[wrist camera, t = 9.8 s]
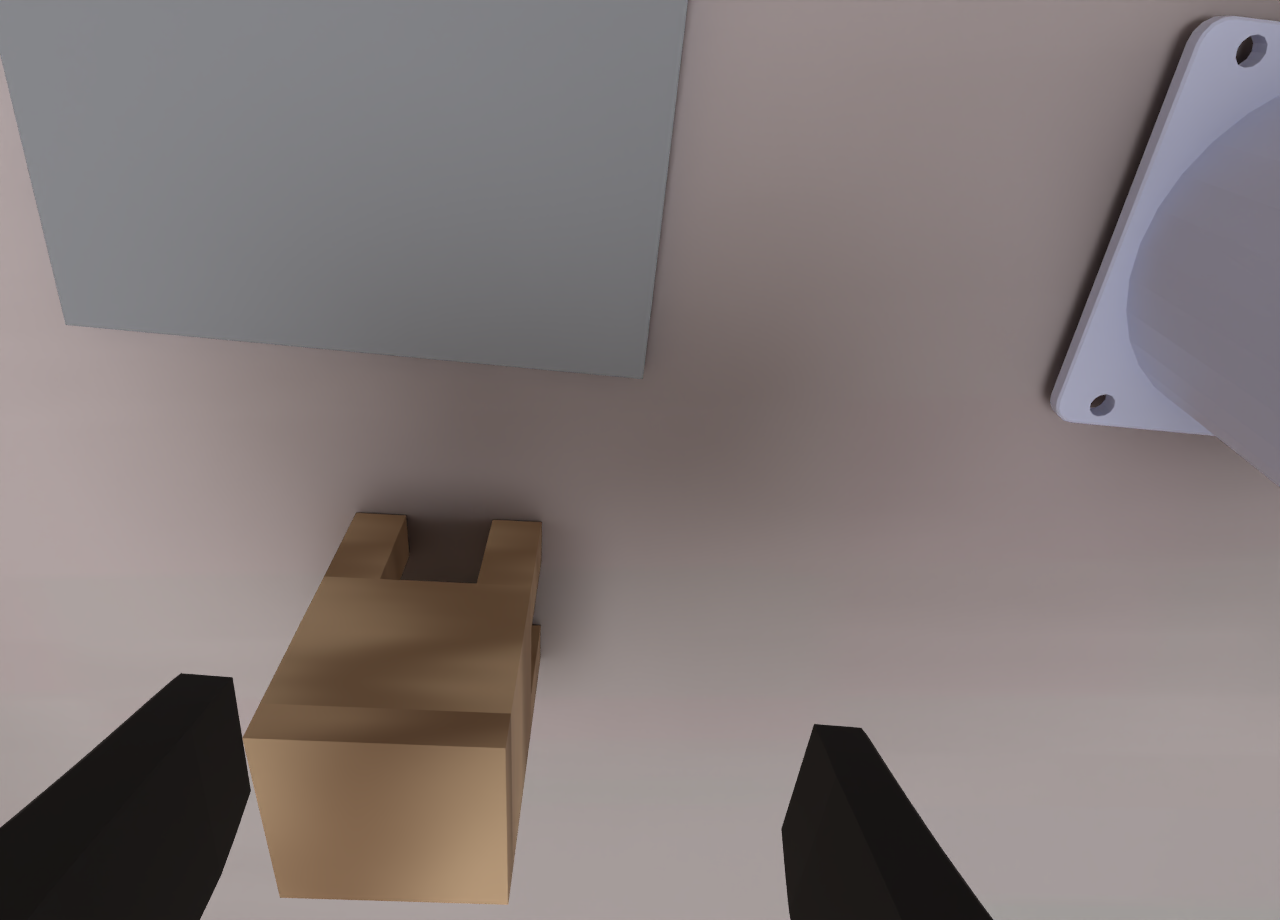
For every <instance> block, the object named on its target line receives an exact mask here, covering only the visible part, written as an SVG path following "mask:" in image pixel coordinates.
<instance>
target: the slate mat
mask: <svg viewBox="0 0 1280 920" xmlns="http://www.w3.org/2000/svg"><path fill="white" fill-rule="evenodd" d="M687 4H688V0H0V55H1V59H2V64H3V68H4V72H5V76H6V80H7V84H8V88H9V92H10V97H11V101H12V105H13V109H14V113H15V117H16V121H17V125H18V130H19V134H20V138H21V142H22V146H23V150H24V154H25V159H26V163H27V167H28V171H29V175H30V179H31V183H32V187H33V192H34V196H35V200H36V204H37V208H38V212H39V216H40V220H41V225H42V229H43V233H44V237H45V241H46V245H47V249H48V253H49V258H50V262H51V266H52V270H53V274H54V278H55V282H56V286H57V291H58V295H59V299H60V303H61V307H62V311H63V315H64V320H65V324H66V325H73V326H83V327H94V328H105V329H115V330H126V331H137V332H147V333H158V334H168V335H179V336H190V337H200V338H211V339H222V340H232V341H243V342H254V343H264V344H275V345H285V346H296V347H307V348H317V349H328V350H339V351H349V352H360V353H371V354H381V355H392V356H402V357H413V358H424V359H434V360H445V361H456V362H466V363H477V364H488V365H498V366H509V367H519V368H530V369H541V370H551V371H562V372H573V373H583V374H594V375H605V376H615V377H626V378H636V379H643V374H644V365H645V357H646V349H647V340H648V332H649V323H650V315H651V307H652V298H653V290H654V281H655V273H656V265H657V256H658V248H659V239H660V231H661V223H662V214H663V206H664V197H665V189H666V181H667V172H668V164H669V155H670V147H671V139H672V130H673V122H674V113H675V105H676V97H677V88H678V80H679V71H680V63H681V55H682V46H683V38H684V30H685V21H686V13H687Z"/></svg>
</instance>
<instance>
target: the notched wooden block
mask: <svg viewBox="0 0 1280 920" xmlns="http://www.w3.org/2000/svg"><path fill="white" fill-rule="evenodd" d="M541 546H542V522H529V521H509V520H492V524H491V528H490V532H489V536H488V540H487V544H486V548H485V552H484V556H483V560H482V564H481V568H480V572H479V576H478V580H477V584H476V583H455V582H434V581H412V580H400V579H401V576H402V573H403V571H404V568H405V566H406V563H407V560H408V558H409V544H408V533H407V521H406V515H389V514H369V513H356V514H355V516H354V518H353V520H352V522H351V524H350V526H349V528H348V530H347V532H346V534H345V536H344V538H343V540H342V542H341V544H340V546H339V548H338V550H337V552H336V554H335V556H334V558H333V560H332V562H331V564H330V566H329V568H328V570H327V572H326V574H325V576H324V578H323V580H322V582H321V584H320V586H319V588H318V590H317V592H316V594H315V596H314V598H313V600H312V601H311V603H310V605H309V607H308V609H307V611H306V613H305V615H304V617H303V619H302V621H301V623H300V625H299V627H298V629H297V631H296V633H295V635H294V637H293V639H292V641H291V643H290V645H289V647H288V649H287V651H286V653H285V655H284V657H283V659H282V661H281V663H280V665H279V667H278V669H277V671H276V673H275V675H274V677H273V679H272V681H271V683H270V685H269V687H268V689H267V691H266V693H265V695H264V697H263V699H262V700H261V702H260V704H259V706H258V708H257V710H256V712H255V714H254V716H253V718H252V720H251V722H250V724H249V726H248V728H247V730H246V732H245V734H244V736H243V742H244V747H245V751H246V755H247V759H248V764H249V768H250V772H251V776H252V781H253V785H254V789H255V793H256V798H257V802H258V806H259V810H260V814H261V819H262V823H263V827H264V831H265V836H266V840H267V844H268V848H269V853H270V857H271V861H272V865H273V870H274V874H275V878H276V882H277V886H278V891H279V895H280V898H311V899H343V900H375V901H407V902H439V903H472V904H504V905H508V902H509V894H510V886H511V879H512V871H513V863H514V856H515V848H516V841H517V833H518V825H519V818H520V810H521V802H522V795H523V787H524V779H525V772H526V764H527V757H528V749H529V741H530V734H531V726H532V718H533V711H534V703H535V695H536V688H537V680H538V673H539V665H540V635H541V625H532V620H533V613H534V607H535V600H536V594H537V587H538V580H539V574H540V567H541Z"/></svg>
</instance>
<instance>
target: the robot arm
mask: <svg viewBox="0 0 1280 920" xmlns="http://www.w3.org/2000/svg"><path fill="white" fill-rule="evenodd" d="M1249 36H1251V38H1252V41H1253V47H1252V52H1251V53H1250V55H1249V56H1248V58H1247V59H1246V60H1244V61H1243V62H1242V63H1240V64H1238V63H1237V61H1236V52H1237V49H1238V47H1239V46H1240V44H1241V43H1242V41H1244V40H1245V39H1246V38H1248V37H1249ZM1105 394H1106V399H1105V400H1104V401H1103V403H1102V404H1101V405H1099V406H1097V407H1095V408H1090V405H1091V403H1092V402H1093V400H1094V399H1095V398H1097V397H1098V396H1100V395H1105ZM1050 404H1051V407H1052V409H1053V411H1054V412H1055V413H1056V414H1057V415H1058V416H1059V417H1060V418H1062V419H1063V420H1064V421H1068V422H1071V423H1081V424H1092V425H1102V426H1113V427H1124V428H1134V429H1145V430H1156V431H1166V432H1177V433H1188V434H1198V435H1209V436H1216V437H1217V438H1219V439H1220V440H1221V441H1222V442H1224V443H1225V444H1226V445H1227V446H1229V447H1230V448H1231V449H1232V450H1234V451H1235V452H1236V453H1237V454H1239V455H1240V456H1241V457H1242V458H1244V459H1245V460H1246V461H1247V462H1249V463H1250V464H1251V465H1253V466H1254V467H1255V468H1256V469H1258V470H1259V471H1260V472H1261V473H1263V474H1264V475H1265V476H1266V477H1268V478H1269V479H1270V480H1271V481H1273V482H1274V483H1275V484H1276V485H1278V486H1279V487H1280V22H1279V21H1271V20H1263V19H1255V18H1247V17H1239V16H1228V15H1223V16H1214V17H1212V18H1210V19H1208V20H1206V21H1204V22H1202V23H1201V24H1200V25H1199V26H1198V27H1197V28H1196V29H1195V30H1194V31H1193V32H1192V34H1191V36H1190V38H1189V39H1188V41H1187V43H1186V45H1185V48H1184V50H1183V53H1182V56H1181V58H1180V61H1179V63H1178V66H1177V69H1176V71H1175V74H1174V76H1173V79H1172V82H1171V84H1170V87H1169V89H1168V92H1167V95H1166V97H1165V100H1164V102H1163V105H1162V108H1161V110H1160V113H1159V115H1158V118H1157V121H1156V123H1155V126H1154V128H1153V131H1152V134H1151V136H1150V139H1149V141H1148V144H1147V147H1146V149H1145V152H1144V154H1143V157H1142V160H1141V162H1140V165H1139V167H1138V170H1137V173H1136V175H1135V178H1134V180H1133V183H1132V186H1131V188H1130V191H1129V193H1128V196H1127V199H1126V201H1125V204H1124V206H1123V209H1122V212H1121V214H1120V217H1119V219H1118V222H1117V225H1116V227H1115V230H1114V232H1113V235H1112V238H1111V240H1110V243H1109V245H1108V248H1107V251H1106V253H1105V256H1104V258H1103V261H1102V264H1101V266H1100V269H1099V271H1098V274H1097V277H1096V279H1095V282H1094V284H1093V287H1092V290H1091V292H1090V295H1089V297H1088V300H1087V303H1086V305H1085V308H1084V310H1083V313H1082V316H1081V318H1080V321H1079V323H1078V326H1077V329H1076V331H1075V334H1074V336H1073V339H1072V342H1071V344H1070V347H1069V349H1068V352H1067V355H1066V357H1065V360H1064V362H1063V365H1062V368H1061V370H1060V373H1059V375H1058V378H1057V381H1056V383H1055V386H1054V388H1053V391H1052V394H1051V399H1050ZM250 792H251V789H250V783H249V777H248V771H247V765H246V758H245V752H244V746H243V740H242V734H241V727H240V721H239V715H238V709H237V703H236V696H235V690H234V684H233V678H232V677H220V676H207V675H195V674H182V673H181V674H180V675H178V676H177V677H176V678H174V679H173V680H172V681H171V682H170V683H168V684H167V685H166V686H165V687H164V688H163V689H161V690H160V691H159V692H158V693H157V694H156V695H154V696H153V697H152V698H151V699H150V700H149V701H148V702H146V703H145V704H144V705H143V706H142V707H141V708H140V709H139V710H137V711H136V712H135V713H134V714H133V715H132V716H131V717H129V718H128V719H127V720H126V721H125V722H124V723H123V724H122V725H120V726H119V727H118V728H117V729H116V730H115V731H114V732H112V733H111V734H110V735H109V736H108V737H107V738H106V739H104V740H103V741H102V742H101V743H100V744H99V745H98V746H96V747H95V748H94V749H93V750H92V751H91V752H89V753H88V754H87V755H86V756H85V757H84V758H83V759H81V760H80V761H79V762H78V763H77V764H76V765H75V766H73V767H72V768H71V769H70V770H69V771H67V772H66V773H65V774H64V775H63V776H62V777H60V778H59V779H58V780H57V781H56V782H54V783H53V784H52V785H51V786H50V787H48V788H47V789H46V790H45V791H44V792H42V793H41V794H40V795H39V796H38V797H36V798H35V799H34V800H33V801H32V802H31V803H29V804H28V805H27V806H26V807H25V808H23V809H22V810H21V811H20V812H19V813H17V814H16V815H15V816H14V817H13V818H11V819H10V820H9V821H8V822H7V823H5V824H4V825H3V826H2V827H0V920H200V918H201V916H202V914H203V912H204V910H205V908H206V906H207V904H208V902H209V900H210V897H211V895H212V893H213V891H214V889H215V887H216V885H217V883H218V880H219V878H220V876H221V874H222V871H223V868H224V866H225V863H226V860H227V857H228V855H229V852H230V849H231V847H232V844H233V841H234V838H235V836H236V833H237V830H238V827H239V824H240V821H241V818H242V815H243V812H244V809H245V806H246V803H247V800H248V797H249V795H250ZM782 841H783V852H784V864H785V876H786V885H787V895H788V905H789V913H790V919H791V920H993V919H992V917H991V916H990V915H989V913H988V912H987V911H986V909H985V908H984V907H983V905H982V904H981V903H980V901H979V900H978V899H977V897H976V896H975V894H974V893H973V892H972V890H971V889H970V887H969V886H968V885H967V883H966V882H965V880H964V879H963V878H962V876H961V875H960V873H959V872H958V871H957V869H956V868H955V866H954V865H953V864H952V862H951V861H950V859H949V858H948V857H947V855H946V854H945V852H944V851H943V850H942V848H941V847H940V845H939V844H938V842H937V841H936V839H935V838H934V836H933V835H932V834H931V832H930V831H929V829H928V828H927V826H926V825H925V823H924V822H923V820H922V819H921V817H920V816H919V814H918V813H917V811H916V810H915V808H914V807H913V805H912V804H911V802H910V801H909V799H908V798H907V796H906V795H905V793H904V792H903V790H902V789H901V787H900V785H899V784H898V782H897V781H896V779H895V778H894V776H893V775H892V773H891V772H890V770H889V769H888V767H887V765H886V764H885V762H884V761H883V759H882V758H881V756H880V755H879V753H878V751H877V750H876V748H875V747H874V745H873V744H872V742H871V741H870V739H869V737H868V736H867V735H866V733H865V732H864V731H863V730H862V728H856V727H843V726H831V725H818V724H814V726H813V730H812V733H811V736H810V739H809V742H808V746H807V749H806V752H805V755H804V758H803V762H802V765H801V768H800V771H799V774H798V778H797V781H796V784H795V787H794V791H793V794H792V797H791V800H790V803H789V807H788V810H787V813H786V816H785V819H784V823H783V826H782Z"/></svg>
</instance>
